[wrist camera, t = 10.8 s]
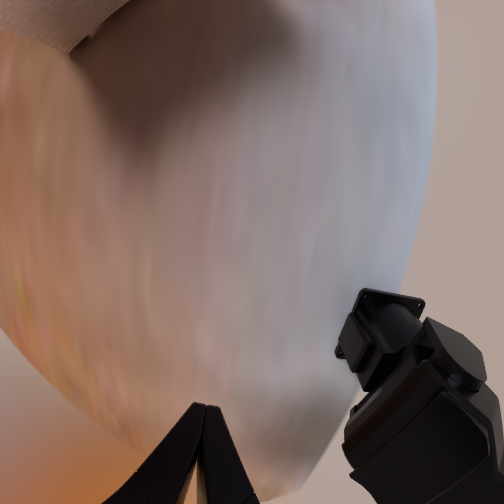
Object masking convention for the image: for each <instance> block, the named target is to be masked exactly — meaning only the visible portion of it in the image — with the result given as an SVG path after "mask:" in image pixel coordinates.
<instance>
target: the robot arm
mask: <svg viewBox="0 0 504 504" xmlns="http://www.w3.org/2000/svg"><path fill="white" fill-rule="evenodd" d="M367 293H368V294H367ZM364 294H367V296H366V297H363V296H364ZM420 303H421V304H420ZM419 304H420V305H419ZM418 305H419V306H418ZM424 307H425V302H424V300H423V299H421V298H416V297H410V296H405V295H400V294H394V293H389V292H384V291H379V290H373V289H368V288H364V289H362V290H361V291H360V292H359V294H358V297H357V299H356V302H355V304H354V307H353V309H352V312H351V313H350V314H349V315H348V317H347V319H346V322H345V324H344V327H343V329H342V331H341V334H340V336H339V338H338V340H339V342H338V345H337V347H336V349H335V352H334V353H335V356H336V357H337V358H339V359H346V360H347V363H348V365H349V368H350V370H351V372H352V373H356V374H357V377H358V379H359V382H360V384H361V387H362V389H363V391H364V392H369V393H368V394H367V395H366V396H365V397H364V398H363V399H362V401H361V402H360V403H359V404H358V405H355V406H354V407H353V408H352V409H351V410H350V419H349V420H348V422H347V424H346V426H345V429H344V441H345V442H344V443H343V444H342V449H343V452H344V454H345V457H346V459H347V460H348V462H349V464H350V465H351V467H352V468H353V469H354V471H353V472H351V473H350V474H349V476H350V478H352V479H353V480H355V481H356V482H358V483H359V484H361V485H362V486H363V487H364V488H365V489H366V490H367V491H368V492H369V493H370V494H371V495H372V497H373V498H374V500H375V501H376V503H377V504H504V437H503V427H502V419H501V411H500V405H499V400H498V397H497V396H496V395H495V394H494V392H493V391H492V390H491V389H490V388H489V387H488V386H487V385H486V384H485V381H486V380H487V376H486V371H485V366H484V361H483V356H482V353H481V351H480V350H479V349H478V348H477V347H476V346H475V345H474V344H473V343H471V342H470V341H469V340H468V339H467V338H466V337H465V336H464V335H463V334H461V333H459V332H457V331H455V330H453V329H451V328H449V327H447V326H444V325H443V324H441V323H439V322H437V321H435V320H433V319H431V318H429V317H426V319H425V320H424V322H423V323H421V321H420V320H419V318H420V316H421V314H422V312H423V309H424ZM340 352H342V353H340ZM197 457H198V458H197ZM196 462H197V504H260V502H259V500H258V498H257V496H256V494H255V493H254V490H253V488H252V485H251V483H250V481H249V479H248V476H247V474H246V472H245V469H244V467H243V465H242V462H241V460H240V457H239V455H238V453H237V450H236V448H235V445H234V443H233V440H232V438H231V435H230V433H229V430H228V427H227V425H226V422H225V420H224V417H223V414H222V412H221V409H220V407H218V406H213V405H207V406H206V405H205V404H202V403H197V402H194V403H192V404H191V406H190V407H189V408H188V409H187V411H186V412H185V413H184V414H183V416H182V417H181V418H180V419H179V421H178V422H177V423H176V424H175V425H174V427H173V428H172V429H171V430H170V431H169V433H168V434H167V435H166V436H165V437H164V439H163V440H162V441H161V442H160V443H159V445H158V446H157V447H156V448H155V449H154V451H153V452H152V453H151V454H150V455H149V456H148V458H147V459H146V460H145V461H144V462H143V463H142V465H141V466H140V467H139V468H138V469H137V472H135V473H133V475H132V476H131V477H130V478H129V479H128V480H127V481H126V482H125V483H124V484H123V485H122V486H121V487H120V488H119V489H118V490H117V491H116V492H115V493H114V494H113V495H111V496H110V497H109V498H108V499H107V500H105V501H104V502H103V503H101V504H184V501H185V497H186V494H187V491H188V488H189V485H190V482H191V479H192V476H193V472H194V469H195V466H196Z"/></svg>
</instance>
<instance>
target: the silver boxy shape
mask: <svg viewBox="0 0 504 504" xmlns="http://www.w3.org/2000/svg"><path fill="white" fill-rule="evenodd" d="M128 1H130V0H0V29H3V30H6V31H9V32H12V33H15V34H18V35H21V36H24V37H27V38H30V39H32V40H35V41H38V42H40V43H43V44H46V45H48V46H51V47H53V48H56V49H58V50H61V51H63V52H65V53H69V52H70V51H71V50H72V49H74V48H76V47H77V46H78V45H79V44H80V43H81V42H82V40H83V39H84V38H85V37H86V36H87V35H88V34H89V33H90V32H91V31H92V30H94V29H95V28H96V27H97V26H98V25H99V24H100V23H102V22H103V21H104V20H105V19H106V18H108V17H109V16H110V15H111V14H113V13H114V12H115V11H116V10H118V9H119V8H120V7H122V6H123V5H124V4H126V3H127V2H128Z"/></svg>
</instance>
